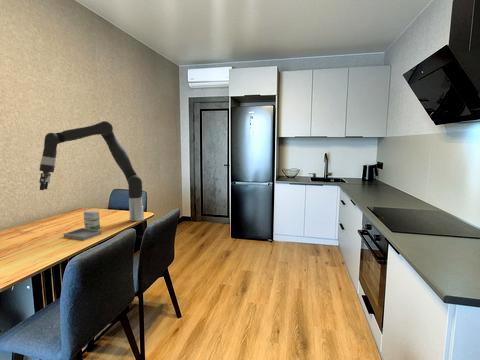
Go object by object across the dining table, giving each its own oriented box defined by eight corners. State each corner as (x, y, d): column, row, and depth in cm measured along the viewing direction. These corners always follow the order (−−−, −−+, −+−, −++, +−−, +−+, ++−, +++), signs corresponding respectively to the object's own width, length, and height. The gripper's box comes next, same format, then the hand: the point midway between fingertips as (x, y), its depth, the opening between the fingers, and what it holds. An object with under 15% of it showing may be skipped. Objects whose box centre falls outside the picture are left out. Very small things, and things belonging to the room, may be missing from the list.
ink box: (100, 228, 179) (99, 211, 178) (94, 230, 175) (93, 212, 173) (90, 227, 182) (89, 210, 181) (84, 229, 177) (83, 211, 176)
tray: (82, 230, 174) (82, 227, 174) (101, 233, 168) (101, 230, 168) (63, 237, 162) (63, 233, 162) (84, 240, 156) (83, 236, 156)
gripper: (52, 165, 164) (47, 191, 164) (57, 165, 177) (52, 189, 177) (37, 162, 161) (32, 189, 161) (43, 163, 174) (39, 188, 174)
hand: (43, 189), depth 169 cm, fingers open, 8 cm apart
